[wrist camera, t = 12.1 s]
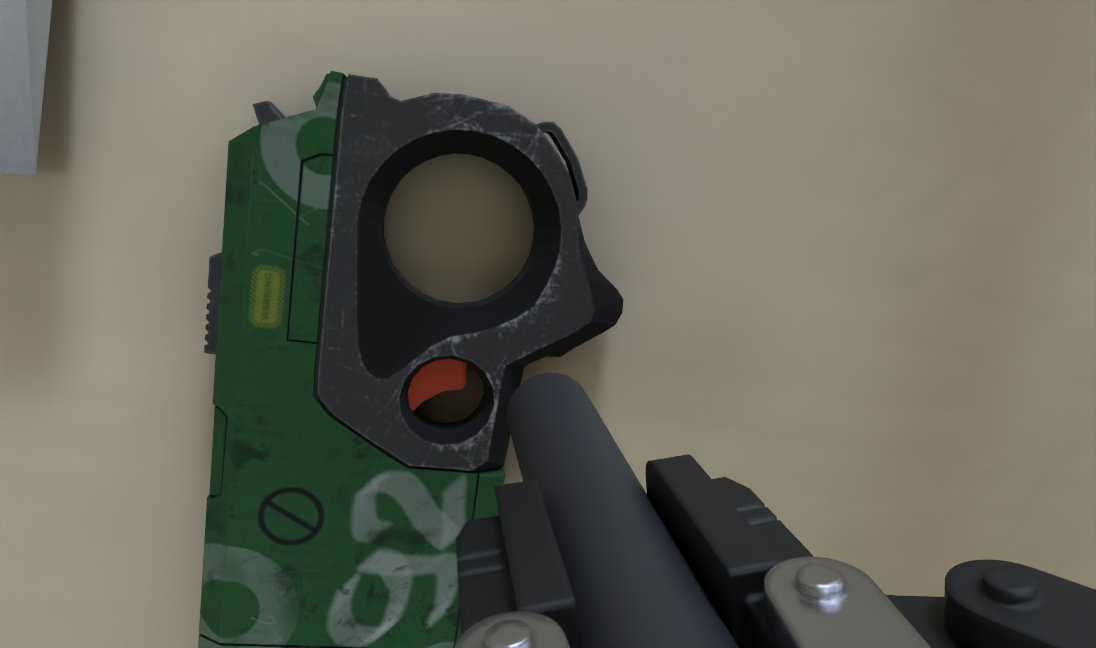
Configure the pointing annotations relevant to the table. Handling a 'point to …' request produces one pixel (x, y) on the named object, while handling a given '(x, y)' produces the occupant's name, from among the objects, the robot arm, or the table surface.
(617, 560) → the stylus
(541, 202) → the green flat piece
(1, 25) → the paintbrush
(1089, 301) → the table surface
